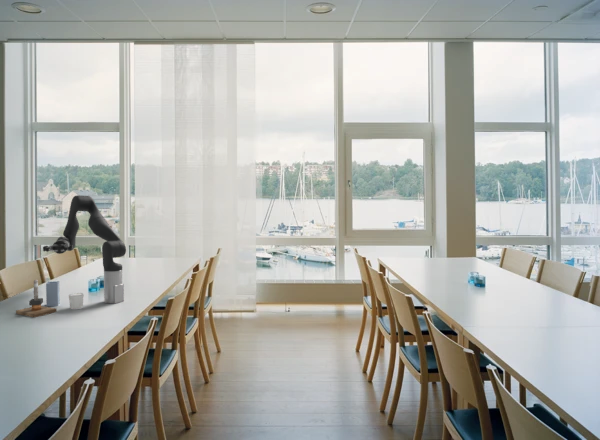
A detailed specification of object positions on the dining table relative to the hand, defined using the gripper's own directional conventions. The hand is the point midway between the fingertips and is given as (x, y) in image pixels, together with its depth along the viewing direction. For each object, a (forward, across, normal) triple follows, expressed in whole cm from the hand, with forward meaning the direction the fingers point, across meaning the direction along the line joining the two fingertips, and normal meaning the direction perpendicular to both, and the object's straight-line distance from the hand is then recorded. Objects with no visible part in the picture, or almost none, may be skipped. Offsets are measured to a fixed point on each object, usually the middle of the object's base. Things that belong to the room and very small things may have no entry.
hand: (56, 249), depth 230 cm
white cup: (+20, +12, +29) cm, 37 cm away
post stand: (+24, -5, +28) cm, 37 cm away
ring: (+24, -5, +24) cm, 34 cm away
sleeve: (+10, 0, +28) cm, 30 cm away
